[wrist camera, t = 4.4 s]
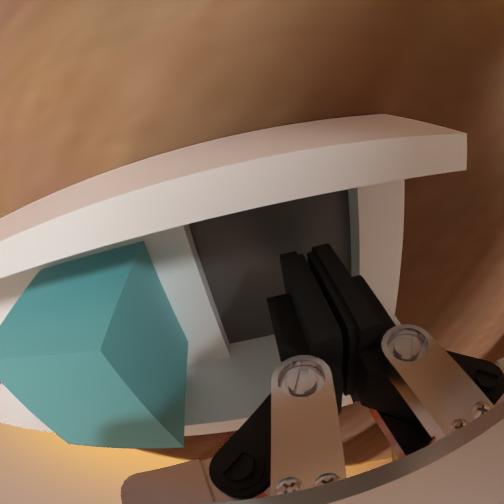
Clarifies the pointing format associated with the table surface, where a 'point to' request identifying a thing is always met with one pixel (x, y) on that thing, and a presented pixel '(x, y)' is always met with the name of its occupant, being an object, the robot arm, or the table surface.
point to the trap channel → (236, 237)
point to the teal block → (99, 352)
